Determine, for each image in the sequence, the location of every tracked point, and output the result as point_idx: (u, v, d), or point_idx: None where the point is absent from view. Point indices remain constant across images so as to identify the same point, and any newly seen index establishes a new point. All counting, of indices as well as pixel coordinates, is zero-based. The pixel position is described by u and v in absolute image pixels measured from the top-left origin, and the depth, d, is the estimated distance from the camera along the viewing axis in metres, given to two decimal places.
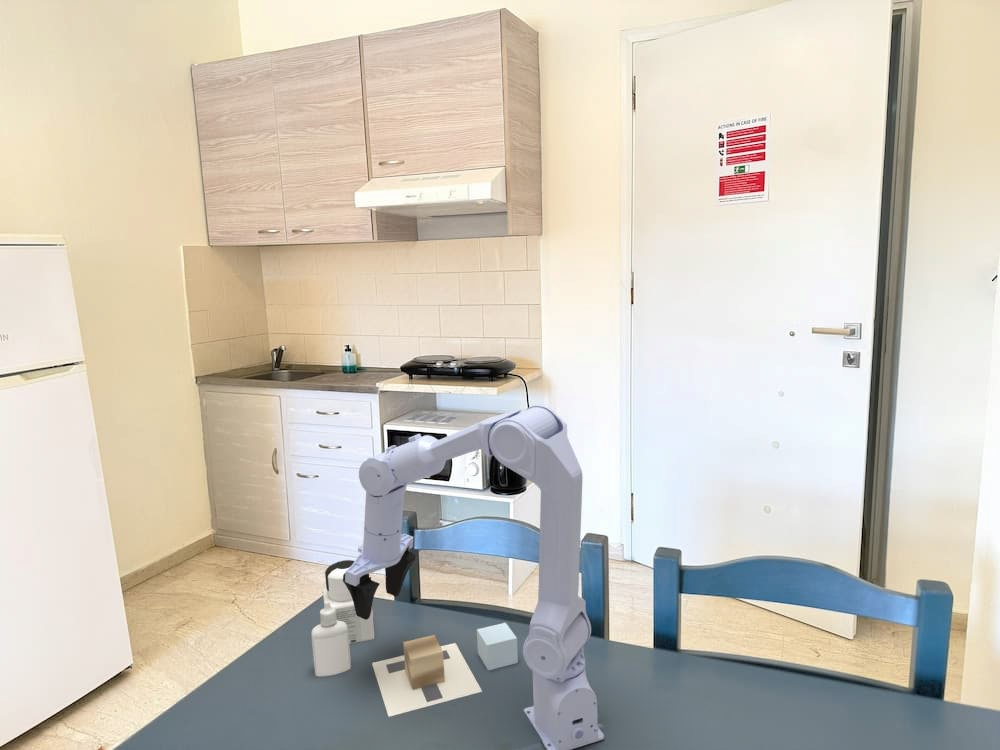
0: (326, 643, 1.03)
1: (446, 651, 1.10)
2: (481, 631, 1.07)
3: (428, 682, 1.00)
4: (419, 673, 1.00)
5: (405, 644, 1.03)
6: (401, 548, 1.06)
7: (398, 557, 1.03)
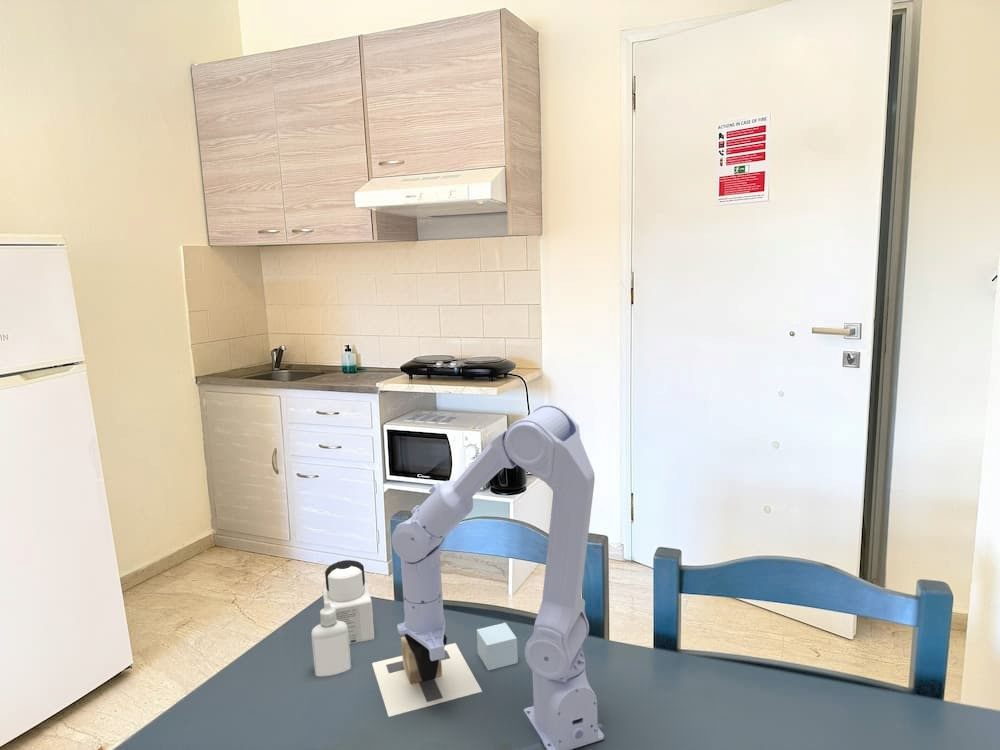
0: (326, 643, 1.03)
1: (446, 651, 1.10)
2: (481, 631, 1.07)
3: None
4: (416, 667, 1.01)
5: (403, 639, 1.04)
6: None
7: None
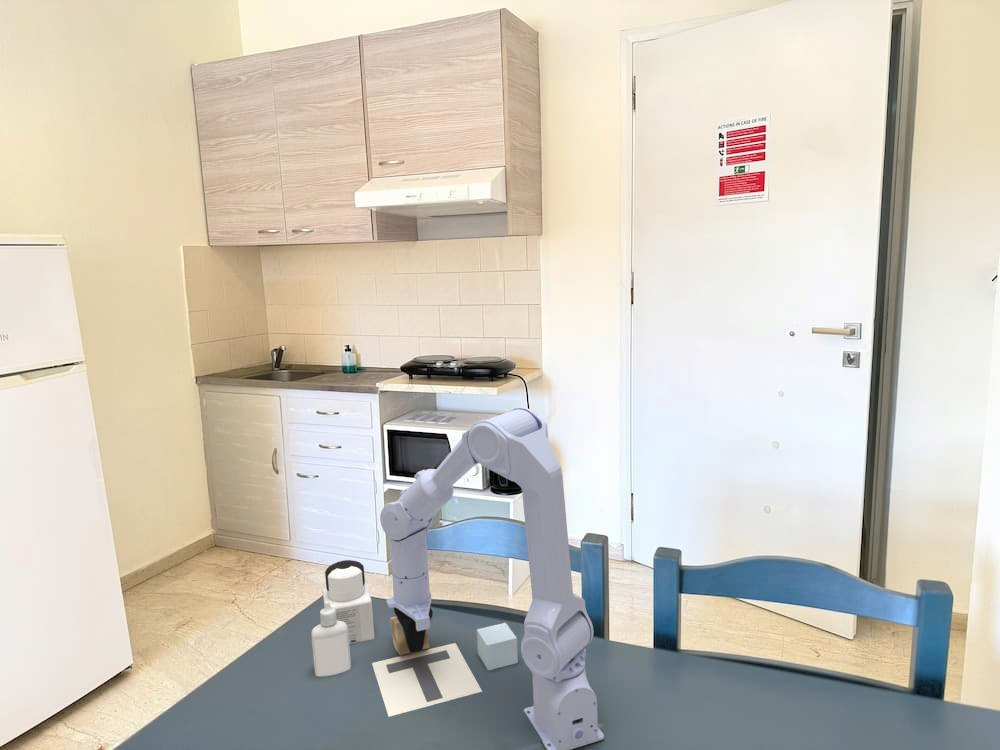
0: (326, 643, 1.03)
1: (446, 651, 1.10)
2: (481, 631, 1.07)
3: None
4: (404, 638, 1.08)
5: (391, 618, 1.12)
6: None
7: None
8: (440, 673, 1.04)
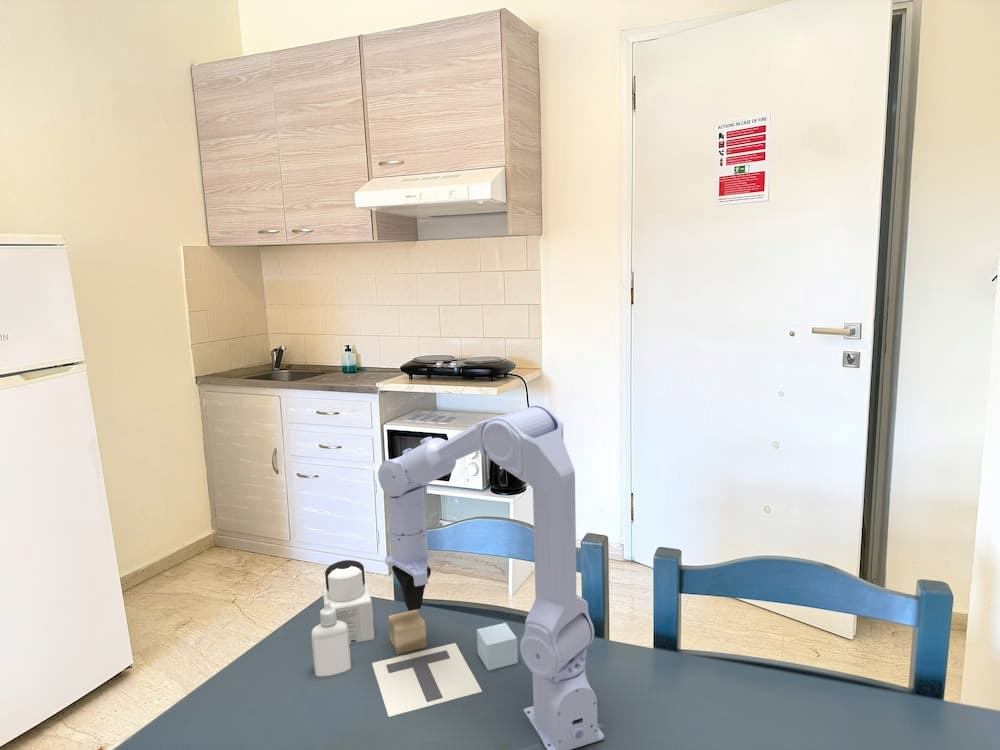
0: (326, 643, 1.03)
1: (446, 651, 1.10)
2: (481, 631, 1.07)
3: None
4: (403, 643, 1.09)
5: (390, 617, 1.12)
6: None
7: None
8: (440, 673, 1.04)
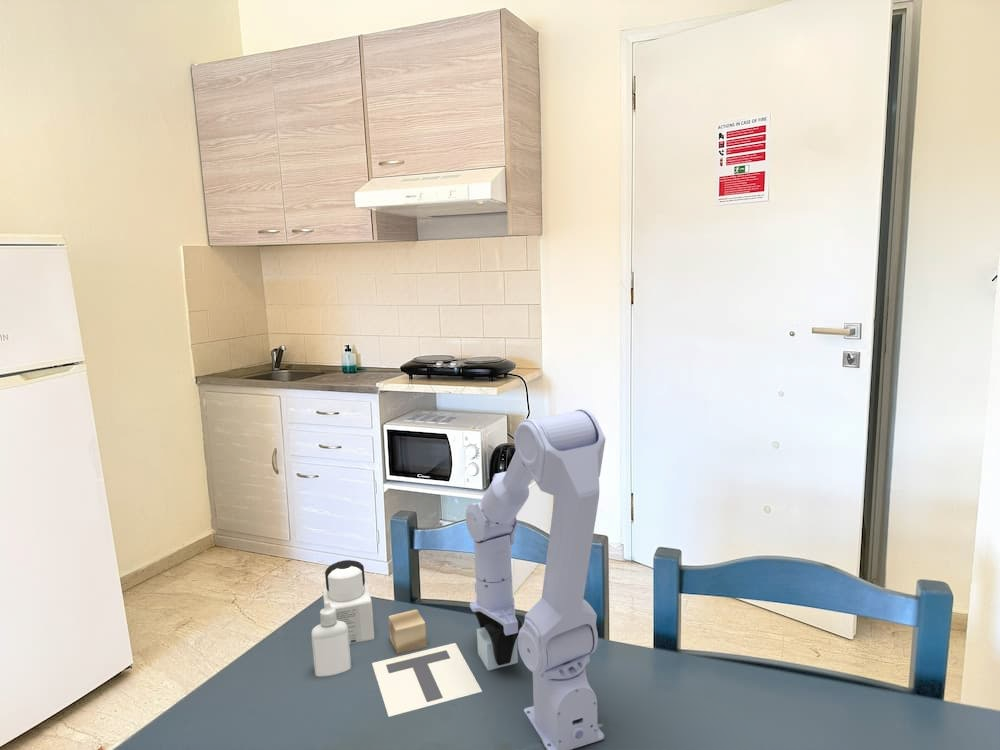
0: (326, 643, 1.03)
1: (446, 651, 1.10)
2: (481, 630, 1.07)
3: None
4: (403, 643, 1.09)
5: (390, 617, 1.12)
6: None
7: None
8: (440, 673, 1.04)
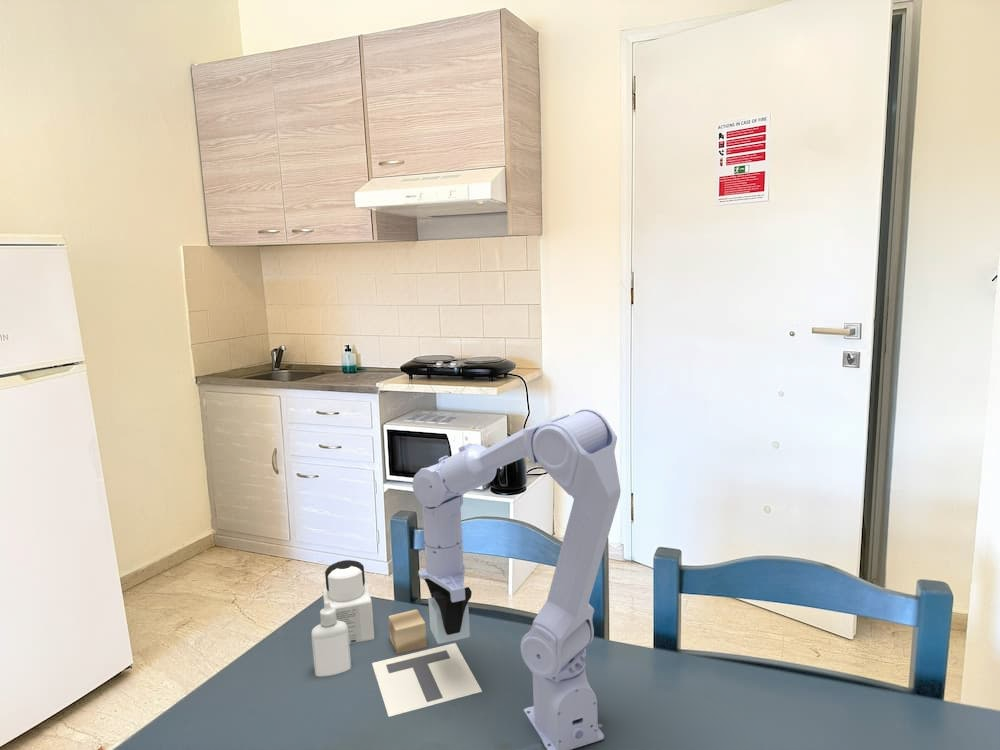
0: (326, 643, 1.03)
1: (446, 651, 1.10)
2: (432, 600, 1.03)
3: None
4: (403, 643, 1.09)
5: (390, 617, 1.12)
6: None
7: None
8: (440, 673, 1.04)
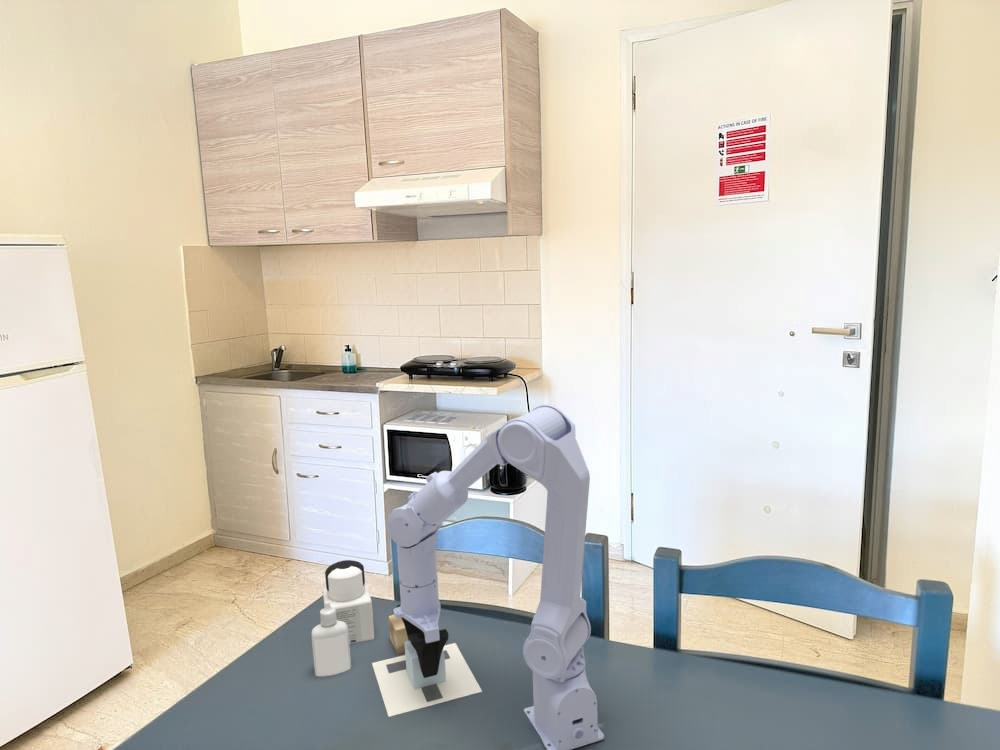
0: (326, 643, 1.03)
1: (446, 651, 1.10)
2: (408, 644, 1.03)
3: None
4: (403, 643, 1.09)
5: (390, 617, 1.12)
6: None
7: None
8: None
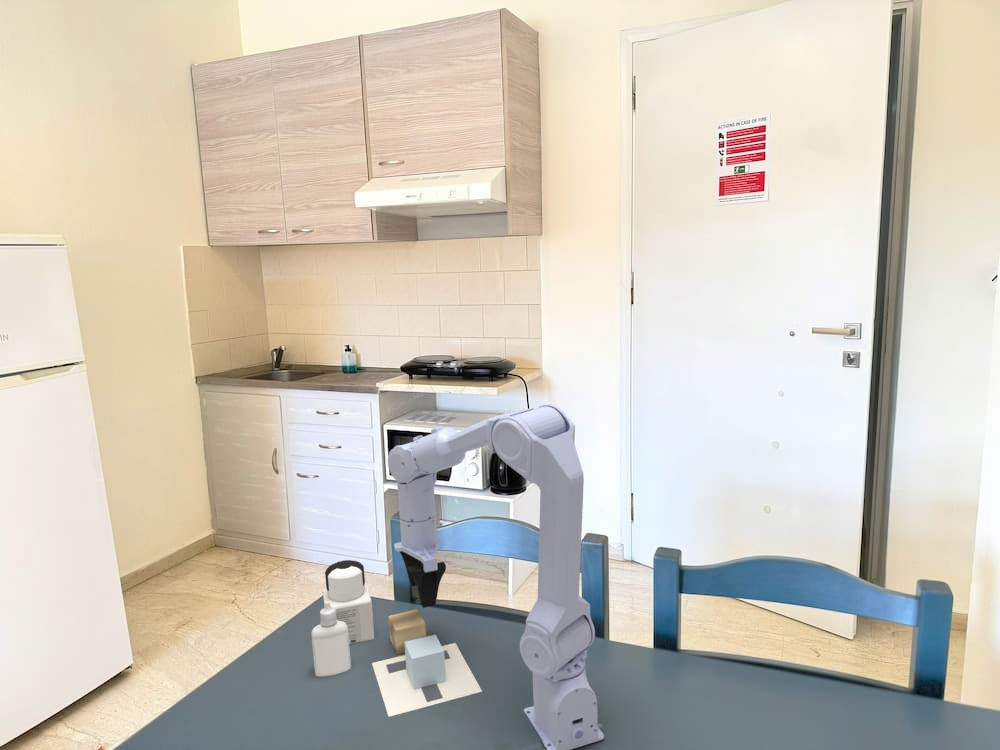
0: (326, 643, 1.03)
1: (446, 651, 1.10)
2: (408, 644, 1.03)
3: None
4: (403, 643, 1.09)
5: (390, 617, 1.12)
6: None
7: None
8: None
